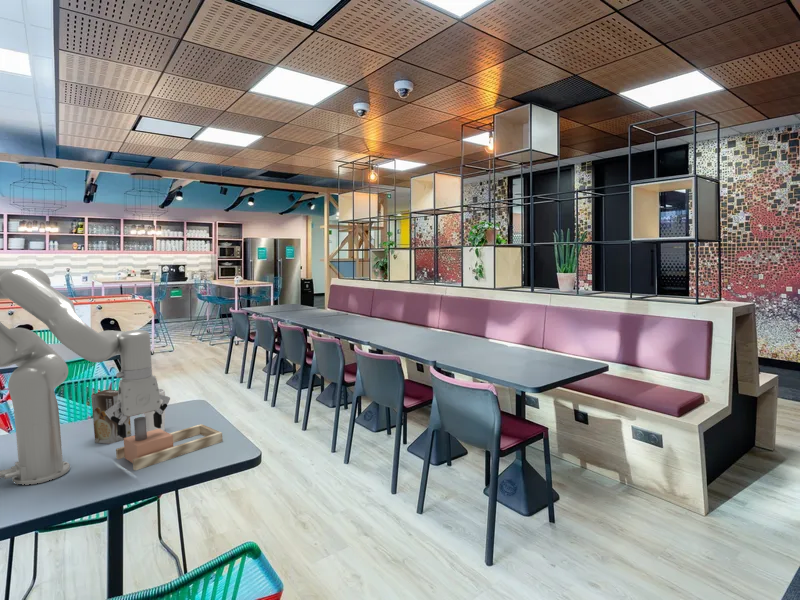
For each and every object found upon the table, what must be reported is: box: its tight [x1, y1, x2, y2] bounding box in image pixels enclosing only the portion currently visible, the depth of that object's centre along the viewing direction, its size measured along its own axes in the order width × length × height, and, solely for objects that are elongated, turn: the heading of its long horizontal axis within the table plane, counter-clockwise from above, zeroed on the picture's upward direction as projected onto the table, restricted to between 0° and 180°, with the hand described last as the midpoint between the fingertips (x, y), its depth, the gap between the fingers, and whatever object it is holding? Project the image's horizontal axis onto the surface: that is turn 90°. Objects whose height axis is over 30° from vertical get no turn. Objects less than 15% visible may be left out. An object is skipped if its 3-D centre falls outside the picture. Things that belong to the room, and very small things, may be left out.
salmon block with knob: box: [123, 416, 174, 464], centre depth 136 cm, size 10×9×12 cm
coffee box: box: [91, 389, 132, 445], centre depth 152 cm, size 9×6×16 cm
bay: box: [115, 423, 223, 471], centre depth 142 cm, size 26×13×4 cm, turn 141°
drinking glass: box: [143, 388, 166, 432], centre depth 157 cm, size 7×7×15 cm
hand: (140, 431), depth 135 cm, fingers open, 9 cm apart
